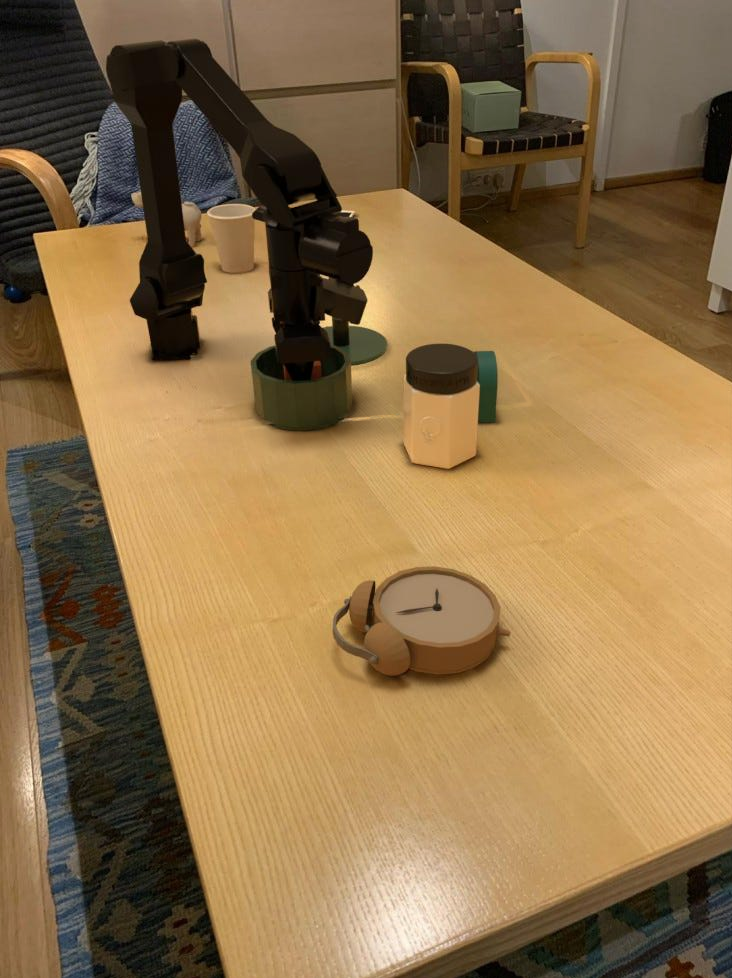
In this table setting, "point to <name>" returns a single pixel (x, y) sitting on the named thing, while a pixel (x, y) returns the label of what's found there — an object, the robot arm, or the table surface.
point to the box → (315, 372)
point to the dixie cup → (234, 236)
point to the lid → (356, 341)
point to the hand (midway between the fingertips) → (302, 384)
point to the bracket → (487, 385)
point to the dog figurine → (189, 215)
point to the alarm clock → (423, 621)
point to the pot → (302, 392)
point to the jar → (441, 405)
